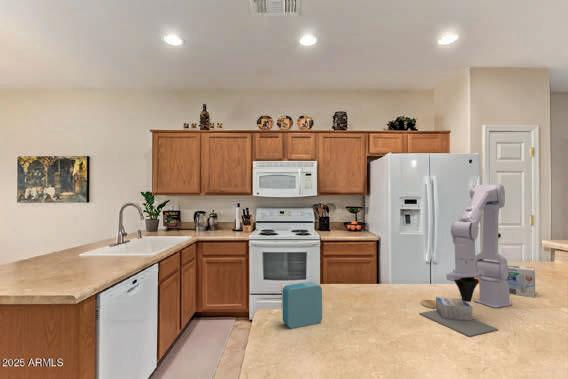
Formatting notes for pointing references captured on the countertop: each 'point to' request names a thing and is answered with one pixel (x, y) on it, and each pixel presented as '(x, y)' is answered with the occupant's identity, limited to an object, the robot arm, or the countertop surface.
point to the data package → (302, 304)
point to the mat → (460, 324)
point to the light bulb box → (521, 280)
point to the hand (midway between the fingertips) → (466, 300)
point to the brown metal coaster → (429, 303)
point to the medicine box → (454, 308)
